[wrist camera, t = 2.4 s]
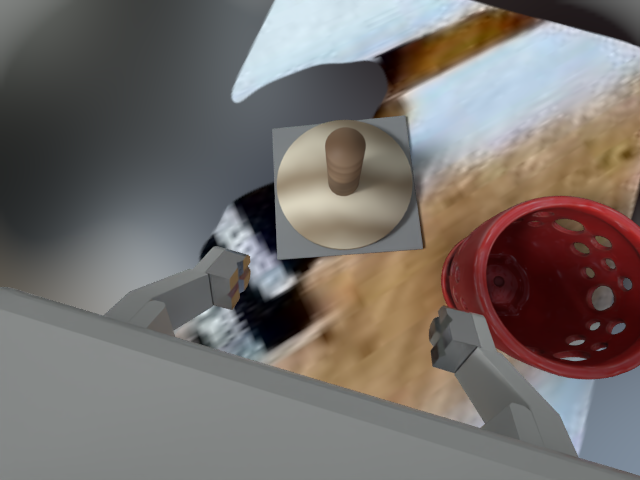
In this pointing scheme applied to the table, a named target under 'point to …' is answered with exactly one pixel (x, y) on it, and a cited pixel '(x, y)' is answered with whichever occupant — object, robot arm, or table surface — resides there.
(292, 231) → the grey mat
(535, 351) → the plant pot
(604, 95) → the table surface
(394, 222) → the birch lid
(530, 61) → the table surface
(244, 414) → the robot arm
